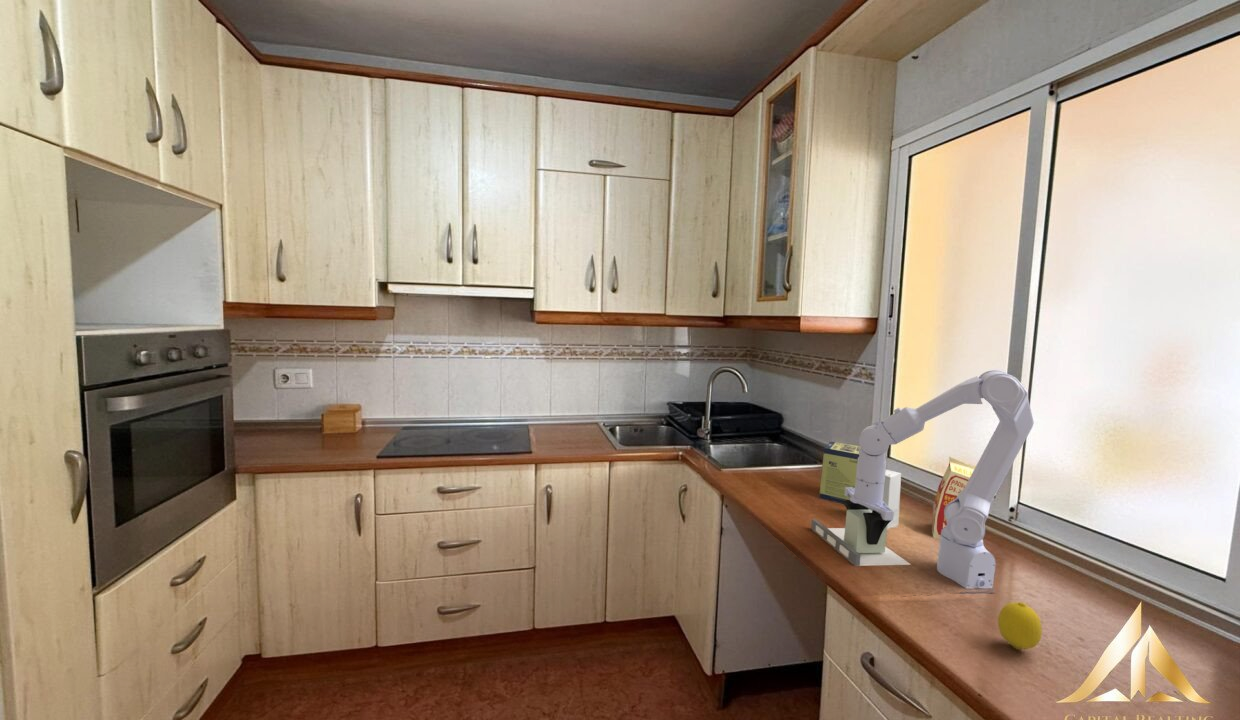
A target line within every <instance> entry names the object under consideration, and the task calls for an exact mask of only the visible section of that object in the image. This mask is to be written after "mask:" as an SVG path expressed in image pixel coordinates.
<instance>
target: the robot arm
mask: <svg viewBox="0 0 1240 720" xmlns="http://www.w3.org/2000/svg"><path fill="white" fill-rule="evenodd" d="M982 399H984V400H985V401H986V402H987V403H988V404H990V406H991V408H992V410H993V411H994V413H995V415H996V417H997V419H998V421H999V422H998V424H997V426H996V427H995V429H994V431H993V433H992V435H991V437H990V439H989V441H988V443H987V445H986V447H985V448H984V451H983V453H982V454H981V456H980V458H979V460H978V461H977V464H976V465H975V466H976V467H975V469H974V471H973V473H972V475H971V477H970V479H969V480H968V482H967V484H966V486H965V488H964V489H963V490H962V491H961V492H960V493H959V494H958V496H957V498H956V499H955V500H954V501H952V502H950V503H949V504H947V506H946V507H945V510H944V516H945V519H946V521H947V526H946V527H945V528H944V529H942V530H941V537H940V539H939V547H938V554H937V555H938V557H937V563H936V564H937V565H936V570H937V571H938V572H939V574H940V575H942V576H943V577H946V578H948V579H950V580H952V581H954V582H956V583H957V584H958V585H959V586H961V587H963V588H964V589H966V590H972V589H976V590H977V589H979V591H960V592H959V593H960V594H981V593H982V594H984V593H985V594H986V593H996V592H997V591H996V590H985V591H983V590H981V591H980V589H993V588H994V579H995V574H996V573H995V572H996V563H997V562H996V559H995V556H994V555H993V554H992V553H991V552H990V551H988V550H987V549H986V547H985V546H984V540H983V539H984V537H985V535H986V526H985V525H986V521H987V520H988V517H989V513H990V507H991V504H992V501H993V500H994V498H995V496H996V495H997V492H998V491H999V488H1000V487H1001V486H1002V483H1003V482H1004V480H1005V477H1006V476H1007V475H1008V473H1009V471H1010V468H1011V467H1012V465H1013V464H1014V461H1015V460H1016V458H1017V456H1018V455H1019V453H1020V450H1022V447H1023V445H1024V443H1025V442H1026V439H1027V438H1028V436H1029V434H1030V433H1031V430H1032V429H1033V427H1034V423H1035V422H1034V417H1033V414H1032V410H1031V405H1030V400H1029V392H1028V391H1027V390H1026V388H1025V387H1024V386H1023V384H1022V383H1021V381H1020V380H1018V378H1017V377H1015V376H1014V375H1011V374H1009V373H1006V372H1004V371H1002V370H998V369H997V370H996V369H992V370H987V371H984V372H983V373H981V374H980V376H979V377H978V376H974V377H971V378H969V379H967V380H964V381H962V382H960V383H958V384H956V385H955V386H953V387H951V388H949V389H947V390H946V391H944V392H942V393H941V394H939V395H937V396H935V397H934V398H933V399H931V400H929V401H927V402H925V403H924V404H922V405H920V406H919V407H917V408H911V407H908V406H906V407H904V408H902V409H901V407H897V408H896V409H894V410H893V414H890V415H889V416H886V417H885V418H883V419H881V420H875V421H873V424H874V425H869V426H866V427H865V428H863V430H862V431H861V433H860V435H859V438H858V444H859V445H858V446H860V449H859V457H858V462H857V472H856V483H855V488H853V487H845V496H847V497H850V499H849V500H845V501H844V504H843V505H844V506H845V508H846V511H847V510H868V509H870V510H872V513H863V515H864V518H865V522H866V530H867V531H866V539H867V543H868V544H869V545H877V543H878V541H879V539H880V536H881V534H882V532H883V530H884V529H885V527H886V526H887V525H888V524H889V523H890V522H891V521H892V520H893V517H894V511H892V510H891V509H890V508H889V507H888V506H887V505H886V504H885V503H884V501H883V492H884V481H885V472H886V470H887V460H886V456H887V455H886V454H887V451H888V450H889V447H890V445H891V446H893V445H897V444H900V443H901V442H903V441H906V440H907V439H909V438H911V437H913V436H915V435H917V434H919V433H921V432H922V431H924V430H925V424H926V422H928V421H930V420H932V419H934V418H936V417H938V416H941V415H943V414H944V413H947V412H949V411H951V410H953V409H955V408H957V407H959V406H961V405H964V404H966V405H983V401H982Z"/></svg>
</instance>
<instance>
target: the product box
mask: <svg viewBox="0 0 1240 720" xmlns="http://www.w3.org/2000/svg"><path fill="white" fill-rule="evenodd" d="M863 513H872V510H847V509H846V515H845V525H844V528H845V534H844V542H845V543H846V544H848V545H849V546H850V547H852V548H853V549H854V550H855V551H857V552H858V553H885V546H886V544H887V535H888V534H887V533H888V529H887V526H888V525H887V526H886V527H885V529H884V530H883V532H882V534H881V536H880V539H879V541H878V543H877V545H869V544H868V543H867V539H866V531H867V530H866V522H865V518H864V515H863Z"/></svg>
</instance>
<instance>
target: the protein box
mask: <svg viewBox="0 0 1240 720" xmlns="http://www.w3.org/2000/svg"><path fill="white" fill-rule="evenodd" d="M859 449H860V445H854V444H849V443H848V444H847V443H843V442H835V441H829V443H828V444H826V446H825V447H824V448H823V456H822V457H823V458H822V469H821V477H820V485H819V493H818V498H819V499H821V500H826V499H827V501H830V500H831V502H834V501H835V502H836V503H840V504H843V503H844V501H845V500H849V499H850V497H847V496H845V487H853V488H855V483H856V472H857V462H858V457H859Z"/></svg>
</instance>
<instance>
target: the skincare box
mask: <svg viewBox="0 0 1240 720" xmlns="http://www.w3.org/2000/svg"><path fill="white" fill-rule="evenodd" d="M901 483H902V473H901V472H898V471H894V470H890V469H886V472H885V481H884V492H883V501H884V503H885V504H886V505H887V506H888V507H889V508H890V509H891V510H892V511H894V517H893V520H892V521H891V522H890V523H889V524H888V526H887V530H889V529H892V528H895V527H897V526H899V519H900V517H899V516H900V504H901V503H900V502H901V501H900V499H901ZM868 510H870V509H868Z"/></svg>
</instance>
